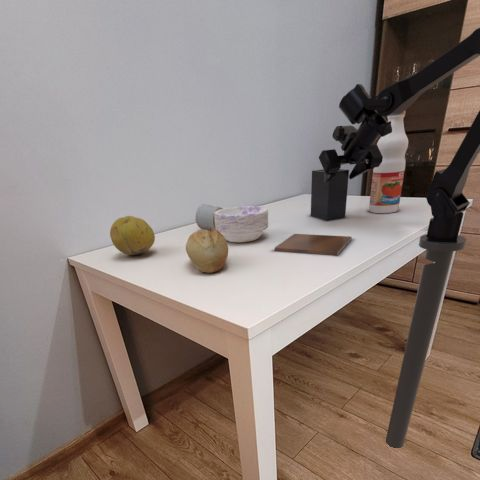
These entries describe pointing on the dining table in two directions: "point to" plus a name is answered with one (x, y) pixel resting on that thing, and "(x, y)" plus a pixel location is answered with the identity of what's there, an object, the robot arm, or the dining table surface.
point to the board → (314, 244)
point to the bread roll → (207, 250)
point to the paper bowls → (241, 222)
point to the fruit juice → (389, 168)
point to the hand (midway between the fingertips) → (337, 179)
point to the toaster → (329, 195)
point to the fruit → (132, 235)
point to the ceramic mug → (206, 216)
